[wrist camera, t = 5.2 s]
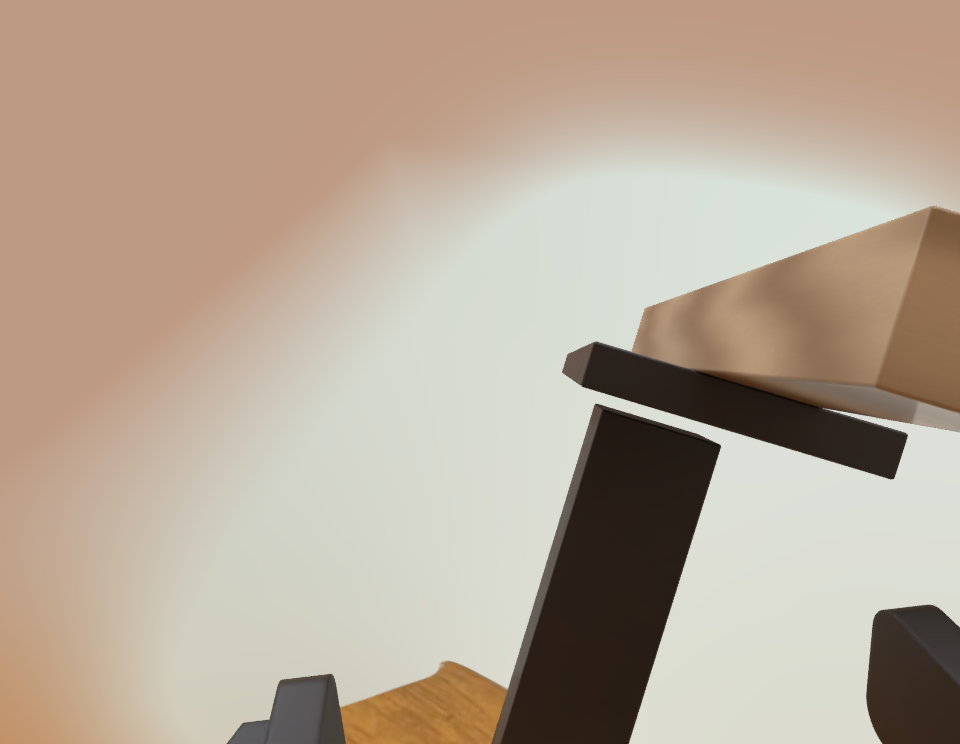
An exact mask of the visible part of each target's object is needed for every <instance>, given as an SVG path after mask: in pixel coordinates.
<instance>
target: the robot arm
mask: <svg viewBox="0 0 960 744" xmlns="http://www.w3.org/2000/svg"><path fill="white" fill-rule="evenodd" d="M866 699H867V707H868V712H869V716H870V719H871V722H872V725H873V727H874V730H875V732H876V734H877V736H878V737H879V739H880V741H881V742H882V744H960V627H959V626H958V625H956V624H955V623H954V622H953V621H952V620H951V619H950V618H949V617H948V616H947V615H946V614H945V613H944V612H943V611H942V610H940V609H939V608H938V607H935V606H933V605H922V606H913V607H905V608H897V609H888V610H881V611H879V612H878V613H877V614H876V615H875V617H874V620H873V627H872V638H871V649H870V660H869V671H868V682H867V695H866ZM227 744H346V742H345V736H344V730H343V724H342V718H341V712H340V706H339V701H338V694H337V688H336V683H335V679H334V676H333V675H332V674H327V675H318V676H310V677H301V678H293V679H284V680H281V681H280V682H279V684H278V687H277V691H276V695H275V699H274V703H273V708H272V712H271V716H270V720H263V721H255V722H247V723H243V724H242V725H241V726H240V727H239V729H238V730H237V731H236V732H235V734H234V735H233V736H232V738H231V739H230V740H229V741H228V743H227Z"/></svg>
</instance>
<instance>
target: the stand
mask: <svg viewBox="0 0 960 744" xmlns="http://www.w3.org/2000/svg"><path fill="white" fill-rule="evenodd" d="M562 372H563V373H564V374H565V375H566V376H568V377H569V378H571V379H572V380H574V381H575V382H576V383H578V384H579V385H581V386H582V387H585V388H588V389H591V390H595V391H598V392H601V393H605V394H608V395H612V396H615V397H618V398H621V399H625V400H628V401H631V402H635V403H638V404H641V405H645V406H648V407H651V408H655V409H658V410H661V411H665V412H668V413H671V414H675V415H678V416H682V417H685V418H688V419H691V420H695V421H698V422H701V423H705V424H708V425H711V426H715V427H718V428H721V429H725V430H728V431H731V432H735V433H738V434H742V435H745V436H748V437H751V438H755V439H758V440H761V441H765V442H768V443H772V444H775V445H778V446H782V447H785V448H788V449H791V450H795V451H798V452H802V453H805V454H808V455H812V456H815V457H818V458H821V459H825V460H828V461H831V462H835V463H838V464H841V465H845V466H848V467H851V468H855V469H858V470H861V471H865V472H868V473H871V474H875V475H878V476H882V477H885V478H888V479H894V478H895V474H896V471H897V468H898V465H899V462H900V459H901V456H902V453H903V450H904V446H905V443H906V440H907V437H908V435H907V434H906V433H904V432H901V431H898V430H894V429H891V428H888V427H884V426H881V425H877V424H874V423H871V422H867V421H864V420H860V419H857V418H854V417H850V416H847V415H843V414H840V413H837V412H833V411H830V410H826V409H823V408H820V407H816V406H813V405H810V404H806V403H803V402H799V401H796V400H793V399H789V398H786V397H782V396H779V395H776V394H772V393H769V392H766V391H762V390H759V389H755V388H752V387H749V386H745V385H742V384H738V383H735V382H732V381H728V380H725V379H721V378H718V377H715V376H711V375H708V374H705V373H701V372H698V371H694V370H691V369H688V368H684V367H681V366H677V365H674V364H671V363H667V362H664V361H660V360H657V359H654V358H650V357H647V356H644V355H640V354H637V353H633V352H630V351H627V350H623V349H620V348H616V347H613V346H610V345H606V344H603V343H599V342H593V343H591V344H589V345H587V346H585V347H582V348H580V349H578V350H576V351H574V352H571V353H569V354H568V355H567V358H566V361H565V364H564V368H563V371H562ZM720 448H721V446H720V445H719V444H717V443H715V442H713V441H711V440H709V439H707V438H705V437H703V436H700V435H698V434H695V433H692V432H689V431H685V430H682V429H679V428H676V427H672V426H669V425H666V424H662V423H659V422H656V421H652V420H649V419H646V418H643V417H639V416H636V415H633V414H629V413H625V412H622V411H619V410H616V409H613V408H609V407H606V406H603V405H599V404H595V405H594V409H593V413H592V415H591V419H590V422H589V426H588V429H587V432H586V435H585V438H584V442H583V445H582V448H581V452H580V455H579V458H578V462H577V465H576V468H575V471H574V474H573V478H572V481H571V484H570V488H569V491H568V494H567V497H566V501H565V504H564V507H563V511H562V514H561V517H560V520H559V524H558V527H557V530H556V534H555V537H554V540H553V544H552V547H551V550H550V553H549V556H548V560H547V563H546V567H545V570H544V573H543V576H542V579H541V583H540V586H539V589H538V593H537V596H536V599H535V603H534V606H533V610H532V613H531V616H530V619H529V622H528V626H527V629H526V632H525V635H524V639H523V642H522V645H521V648H520V652H519V655H518V658H517V662H516V665H515V669H514V672H513V675H512V678H511V681H510V685H509V688H508V691H507V694H506V698H505V701H504V704H503V708H502V711H501V714H500V717H499V721H498V724H497V727H496V731H495V734H494V737H493V740H492V744H629V741H630V738H631V735H632V732H633V728H634V725H635V722H636V719H637V715H638V712H639V709H640V706H641V703H642V699H643V696H644V693H645V690H646V687H647V683H648V680H649V677H650V674H651V670H652V667H653V664H654V661H655V658H656V654H657V651H658V648H659V645H660V641H661V638H662V635H663V632H664V629H665V625H666V622H667V619H668V616H669V613H670V609H671V606H672V603H673V600H674V596H675V593H676V590H677V587H678V584H679V580H680V577H681V574H682V571H683V567H684V564H685V561H686V558H687V555H688V551H689V548H690V545H691V541H692V539H693V535H694V532H695V529H696V526H697V522H698V519H699V516H700V513H701V510H702V506H703V503H704V500H705V497H706V494H707V490H708V487H709V484H710V481H711V478H712V474H713V471H714V468H715V465H716V461H717V458H718V455H719V452H720Z"/></svg>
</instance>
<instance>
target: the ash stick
mask: <svg viewBox="0 0 960 744" xmlns="http://www.w3.org/2000/svg"><path fill="white" fill-rule="evenodd" d="M632 352H633V353H637V354H640V355H644V356H647V357H650V358H654V359H657V360H660V361H664V362H667V363H671V364H674V365H677V366H681V367H684V368H688V369H691V370H694V371H698V372H701V373H705V374H708V375H711V376H715V377H718V378H721V379H725V380H728V381H732V382H735V383H738V384H742V385H745V386H749V387H752V388H755V389H759V390H762V391H766V392H769V393H772V394H776V395H779V396H782V397H786V398H789V399H793V400H796V401H799V402H803V403H806V404H810V405H813V406H816V407H820V408H826V409H831V410H837V411H843V412H848V413H854V414H859V415H866V416H871V417H876V418H882V419H888V420H893V421H899V422H905V423H910V424H916V425H921V426H927V427H933V428H938V429H945V430H950V431H955V432H960V213H958V212H955V211H951V210H948V209H944V208H941V207H937V206H931V207H928V208H925V209H923V210H920V211H917V212H914V213H911V214H909V215H906V216H903V217H900V218H898V219H894V220H892V221H889V222H886V223H883V224H881V225H878V226H875V227H872V228H869V229H867V230H864V231H861V232H858V233H855V234H852V235H850V236H847V237H844V238H841V239H838V240H836V241H833V242H830V243H827V244H824V245H822V246H819V247H816V248H813V249H810V250H807V251H805V252H802V253H799V254H796V255H794V256H791V257H788V258H785V259H782V260H779V261H777V262H774V263H771V264H768V265H765V266H763V267H760V268H757V269H754V270H751V271H748V272H746V273H743V274H740V275H737V276H735V277H732V278H729V279H726V280H723V281H720V282H718V283H715V284H712V285H709V286H707V287H704V288H701V289H698V290H695V291H692V292H690V293H687V294H684V295H681V296H678V297H675V298H673V299H670V300H667V301H664V302H661V303H659V304H656V305H653V306H650V307H647V308H645V309H644V313H643V316H642V319H641V322H640V326H639V329H638V332H637V335H636V339H635V342H634V345H633V349H632Z"/></svg>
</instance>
